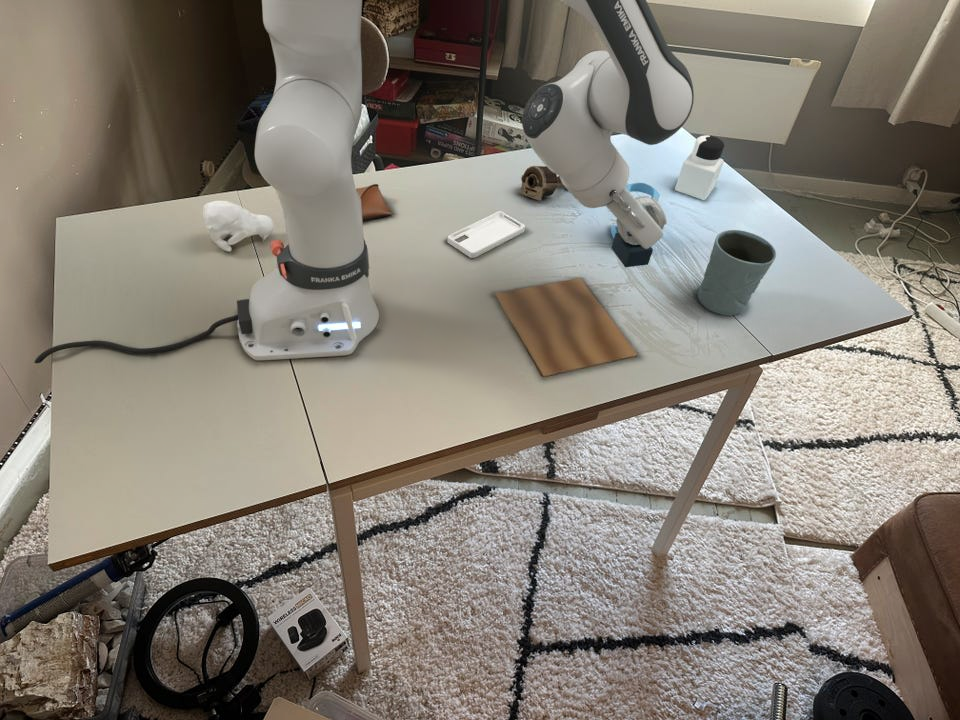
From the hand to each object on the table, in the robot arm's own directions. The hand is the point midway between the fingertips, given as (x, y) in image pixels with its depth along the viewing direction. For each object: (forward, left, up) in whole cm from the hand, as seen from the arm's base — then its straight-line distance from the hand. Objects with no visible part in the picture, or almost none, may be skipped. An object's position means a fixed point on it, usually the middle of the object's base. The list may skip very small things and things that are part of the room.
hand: (637, 224), depth 105 cm
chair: (+11, +15, -16) cm, 24 cm away
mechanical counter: (+3, +36, -16) cm, 39 cm away
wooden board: (-13, -4, -15) cm, 20 cm away
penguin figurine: (-61, +34, -16) cm, 72 cm away
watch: (0, 0, -7) cm, 7 cm away
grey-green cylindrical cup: (+19, -6, -16) cm, 25 cm away
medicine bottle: (+37, +30, -16) cm, 50 cm away
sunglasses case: (-41, +38, -16) cm, 58 cm away
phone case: (-16, +24, -16) cm, 33 cm away
